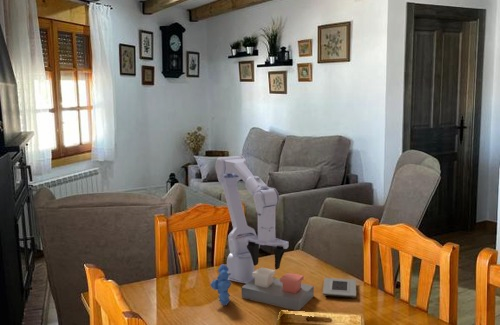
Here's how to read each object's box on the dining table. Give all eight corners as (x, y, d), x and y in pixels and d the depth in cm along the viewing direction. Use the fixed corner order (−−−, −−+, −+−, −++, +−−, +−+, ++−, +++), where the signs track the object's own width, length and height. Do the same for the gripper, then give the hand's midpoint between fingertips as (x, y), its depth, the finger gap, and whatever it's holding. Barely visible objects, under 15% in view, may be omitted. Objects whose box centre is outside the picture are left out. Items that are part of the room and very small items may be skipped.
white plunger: (252, 288, 162) (252, 272, 161) (260, 282, 167) (260, 267, 166) (267, 291, 159) (267, 275, 158) (275, 285, 164) (275, 270, 163)
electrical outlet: (355, 301, 158) (356, 294, 157) (322, 299, 160) (322, 292, 159) (355, 285, 170) (355, 279, 170) (324, 283, 172) (324, 276, 172)
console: (241, 297, 160) (241, 287, 160) (259, 284, 171) (259, 274, 170) (298, 310, 151) (298, 300, 150) (313, 296, 161) (313, 285, 161)
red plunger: (280, 294, 157) (280, 278, 156) (287, 287, 162) (287, 272, 161) (296, 297, 154) (296, 281, 153) (303, 291, 159) (303, 275, 158)
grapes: (210, 294, 163) (209, 259, 161) (230, 294, 163) (230, 259, 161) (210, 310, 151) (209, 273, 149) (232, 309, 152) (232, 272, 150)
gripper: (240, 226, 159) (241, 266, 161) (282, 232, 153) (282, 274, 155) (250, 221, 165) (250, 260, 168) (291, 226, 159) (290, 266, 161)
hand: (266, 266), depth 162 cm, fingers open, 7 cm apart
